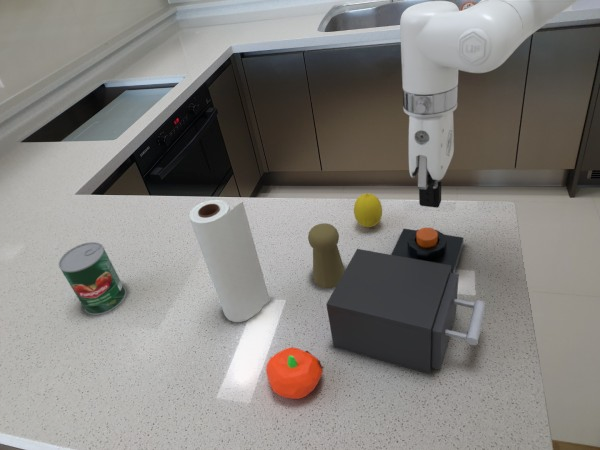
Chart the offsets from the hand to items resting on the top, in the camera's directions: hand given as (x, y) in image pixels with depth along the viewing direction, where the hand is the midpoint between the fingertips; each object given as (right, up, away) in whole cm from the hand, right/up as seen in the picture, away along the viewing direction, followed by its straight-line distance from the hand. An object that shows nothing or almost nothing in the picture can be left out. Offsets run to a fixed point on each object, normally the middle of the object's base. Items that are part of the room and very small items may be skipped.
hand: (430, 203), depth 76 cm
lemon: (-7, -4, +17) cm, 19 cm away
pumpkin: (-22, -27, -10) cm, 36 cm away
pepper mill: (-16, -13, +7) cm, 22 cm away
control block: (+1, -9, +7) cm, 12 cm away
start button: (+1, -6, +5) cm, 8 cm away
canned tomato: (-59, -18, +12) cm, 62 cm away
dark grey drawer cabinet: (-7, -20, -5) cm, 21 cm away
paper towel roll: (-31, -18, +4) cm, 36 cm away
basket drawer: (-4, -20, -7) cm, 21 cm away
